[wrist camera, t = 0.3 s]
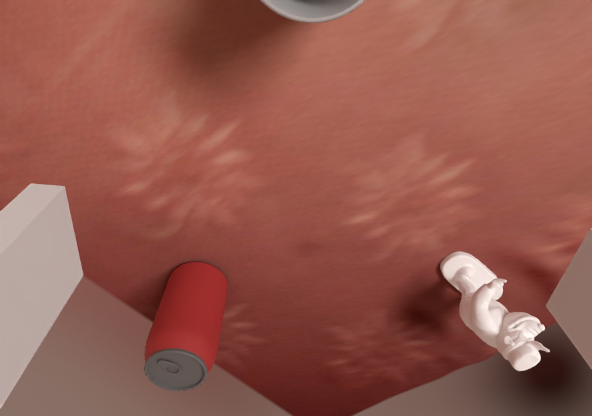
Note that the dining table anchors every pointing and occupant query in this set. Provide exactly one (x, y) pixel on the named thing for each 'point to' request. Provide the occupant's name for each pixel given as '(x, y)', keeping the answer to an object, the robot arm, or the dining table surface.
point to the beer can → (186, 327)
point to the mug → (312, 9)
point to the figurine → (492, 311)
